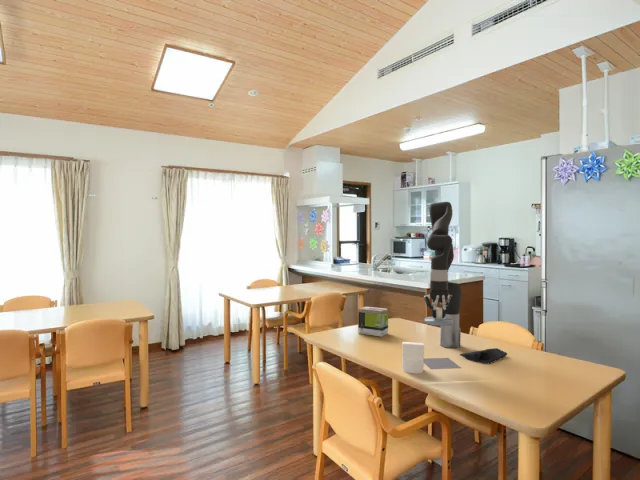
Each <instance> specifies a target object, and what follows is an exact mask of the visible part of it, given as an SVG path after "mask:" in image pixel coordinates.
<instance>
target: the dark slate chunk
mask: <svg viewBox="0 0 640 480" xmlns="http://www.w3.org/2000/svg"><path fill="white" fill-rule="evenodd" d="M507 355H508V352H506V351H504V350H501V349H499V348H486V349H483V350H474V351H469V352H464V353H460V354H459V356H461V357H463V358H464V359H466V360H468V361H471V362H474V363H480V364H484V365H486V364H487V365H488V363H489V364H492V363H495V362H496V361H499V360H501V359H500V358H502V359H503V358H504V357H506V356H507ZM498 359H499V360H498ZM494 361H495V362H494ZM491 362H492V363H491Z"/></svg>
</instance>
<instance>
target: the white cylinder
mask: <svg viewBox="0 0 640 480" xmlns="http://www.w3.org/2000/svg"><path fill="white" fill-rule="evenodd" d="M401 343H402V344H401V345H402V347H401V349H402V351H401V352H402V353H401V358H402V360H401V369H402V371H403V372H405V373H408V374H422V373H424V370H425V369H424V367H425V366H424V365H425V364H424V359H425V358H424V357H425V355H424V354H425V343H424V342H412V341H402V342H401Z"/></svg>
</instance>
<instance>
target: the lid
mask: <svg viewBox="0 0 640 480" xmlns="http://www.w3.org/2000/svg"><path fill="white" fill-rule="evenodd" d="M424 323H425V324H427V325H431V326H436V327H437V326H439V327H441V326H449V325H452V324H453V320H452V319H449V318H445V317H444V318H442V308H441V307H436V318H433V317H432V316H427V317H425V318H424Z"/></svg>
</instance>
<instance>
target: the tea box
mask: <svg viewBox="0 0 640 480" xmlns="http://www.w3.org/2000/svg"><path fill="white" fill-rule="evenodd" d="M357 311H358V312H357V313H358V314H357V317H358V318H357V319H358V320H357V322H358V325H357V327H358V328H357V329H358V331H357V332H358V334H360V335H368V336H374V337H375V336H376V337H385V336H387V334H388V333H389V309H388V308H385V307H384V308H383V307H375V306H374V307H373V306H363V307H360V308H358V309H357Z"/></svg>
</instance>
